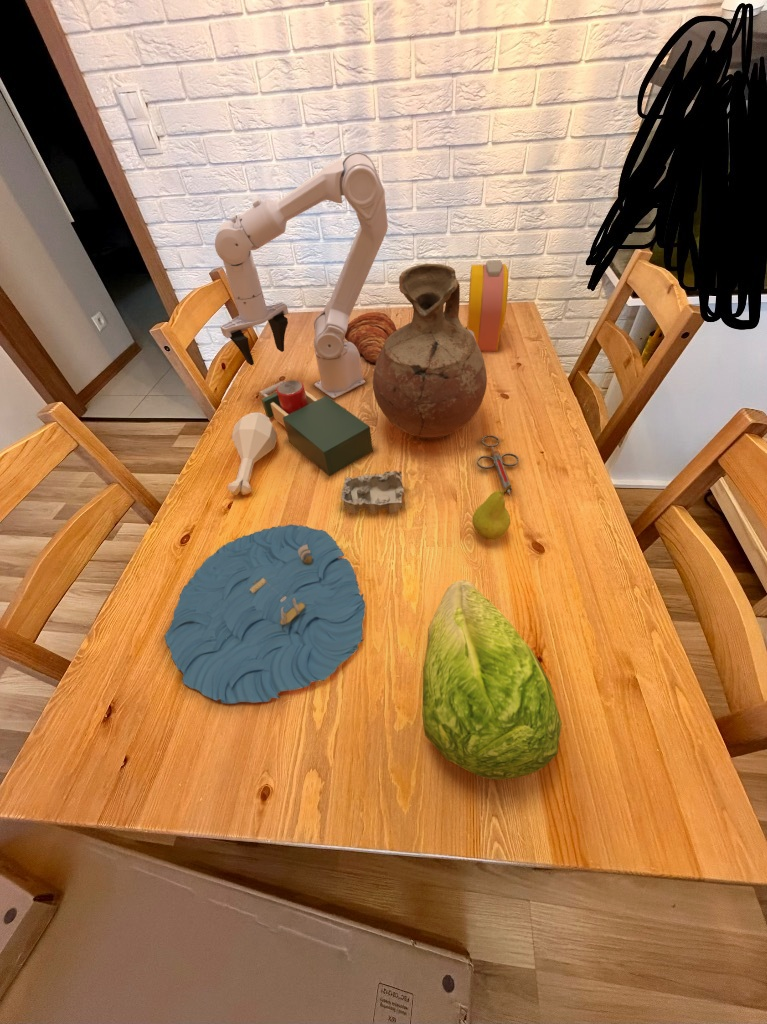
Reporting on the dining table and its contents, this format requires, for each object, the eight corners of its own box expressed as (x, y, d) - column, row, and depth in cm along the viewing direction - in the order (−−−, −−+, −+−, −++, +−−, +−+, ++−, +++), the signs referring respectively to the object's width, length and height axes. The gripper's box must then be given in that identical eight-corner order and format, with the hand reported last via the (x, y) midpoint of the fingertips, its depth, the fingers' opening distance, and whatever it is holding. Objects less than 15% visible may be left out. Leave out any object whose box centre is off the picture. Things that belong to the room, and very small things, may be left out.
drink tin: (300, 403, 101) (294, 376, 96) (314, 414, 98) (308, 386, 93) (278, 414, 99) (270, 387, 94) (292, 425, 95) (285, 398, 91)
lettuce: (521, 603, 67) (511, 538, 59) (578, 786, 49) (576, 729, 40) (422, 622, 70) (398, 562, 61) (440, 803, 51) (410, 753, 43)
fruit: (467, 523, 77) (472, 470, 68) (502, 519, 77) (511, 465, 68) (475, 550, 73) (481, 498, 64) (511, 545, 73) (523, 493, 64)
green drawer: (256, 407, 103) (250, 390, 100) (291, 390, 107) (287, 373, 103) (299, 444, 93) (294, 427, 90) (336, 424, 97) (333, 407, 93)
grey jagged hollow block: (405, 486, 84) (404, 469, 81) (401, 517, 79) (400, 500, 76) (347, 484, 85) (345, 468, 82) (341, 514, 80) (337, 498, 77)
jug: (360, 446, 92) (339, 294, 70) (398, 388, 105) (391, 245, 83) (466, 469, 86) (479, 309, 64) (493, 404, 99) (511, 252, 77)
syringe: (489, 507, 79) (490, 500, 78) (468, 441, 91) (469, 434, 90) (534, 502, 79) (535, 496, 78) (507, 437, 91) (508, 430, 90)
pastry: (416, 341, 119) (416, 310, 113) (377, 367, 112) (374, 336, 106) (369, 324, 128) (366, 295, 122) (329, 347, 120) (324, 318, 114)
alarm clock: (500, 354, 112) (510, 275, 98) (466, 354, 113) (471, 276, 100) (498, 325, 122) (507, 250, 108) (467, 325, 123) (471, 251, 109)
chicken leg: (215, 500, 86) (215, 476, 79) (237, 426, 95) (239, 400, 88) (260, 509, 88) (264, 487, 81) (277, 436, 97) (282, 411, 90)
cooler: (289, 441, 95) (282, 417, 91) (330, 419, 99) (326, 395, 95) (329, 476, 87) (324, 452, 83) (372, 451, 91) (369, 426, 87)
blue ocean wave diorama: (296, 758, 56) (285, 748, 52) (131, 650, 67) (111, 634, 63) (407, 571, 71) (406, 552, 67) (258, 508, 82) (249, 489, 78)
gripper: (269, 276, 96) (284, 338, 106) (205, 299, 90) (227, 362, 100) (287, 285, 92) (300, 348, 102) (221, 310, 86) (243, 374, 96)
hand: (265, 356), depth 101 cm, fingers open, 7 cm apart
